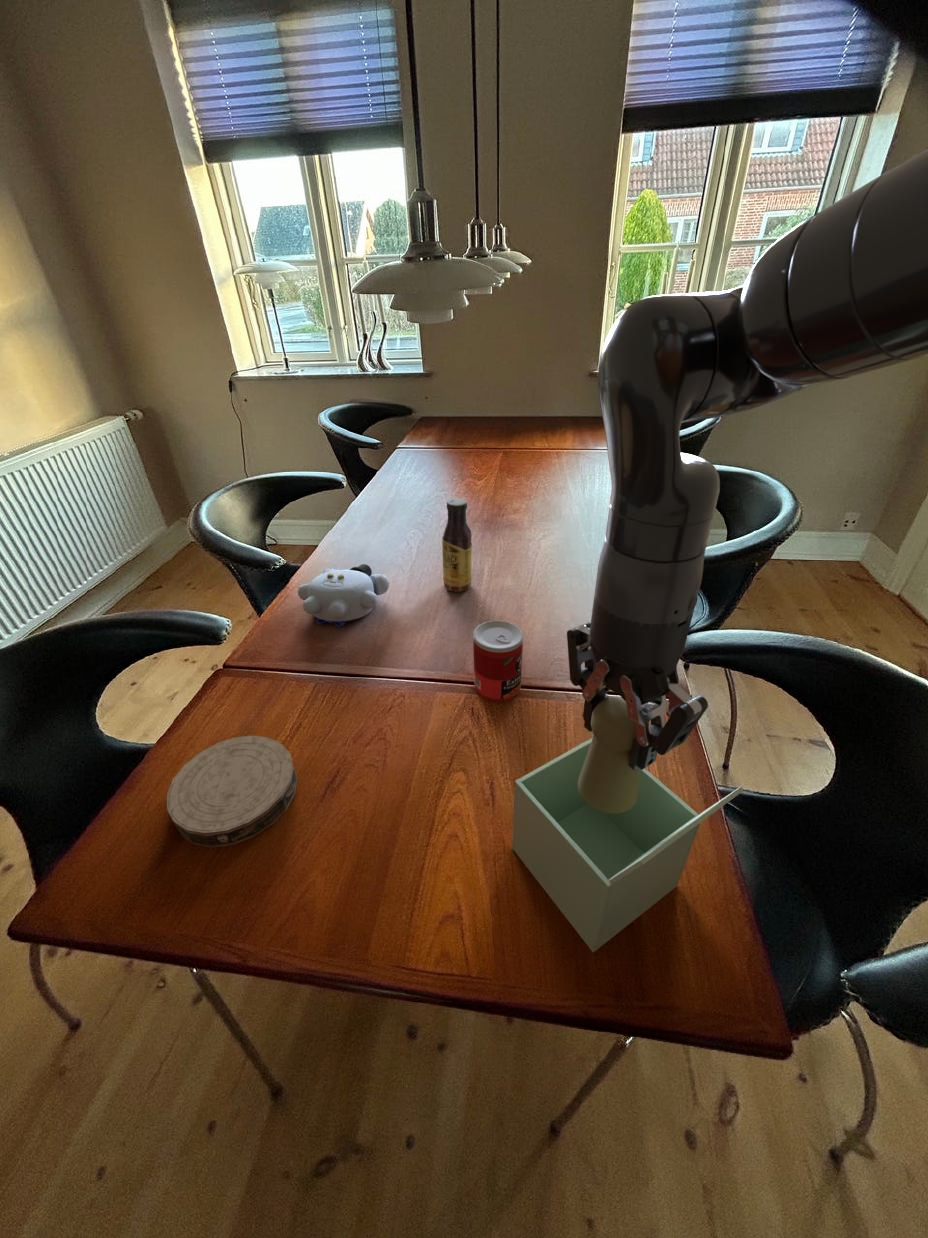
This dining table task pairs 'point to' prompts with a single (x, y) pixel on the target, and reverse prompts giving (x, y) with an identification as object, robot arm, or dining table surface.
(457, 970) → the dining table surface
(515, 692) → the canned food
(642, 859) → the flap
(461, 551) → the sauce bottle
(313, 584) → the figurine
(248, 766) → the grey flat disc
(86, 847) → the dining table surface
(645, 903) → the carton
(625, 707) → the olive brown pawn
